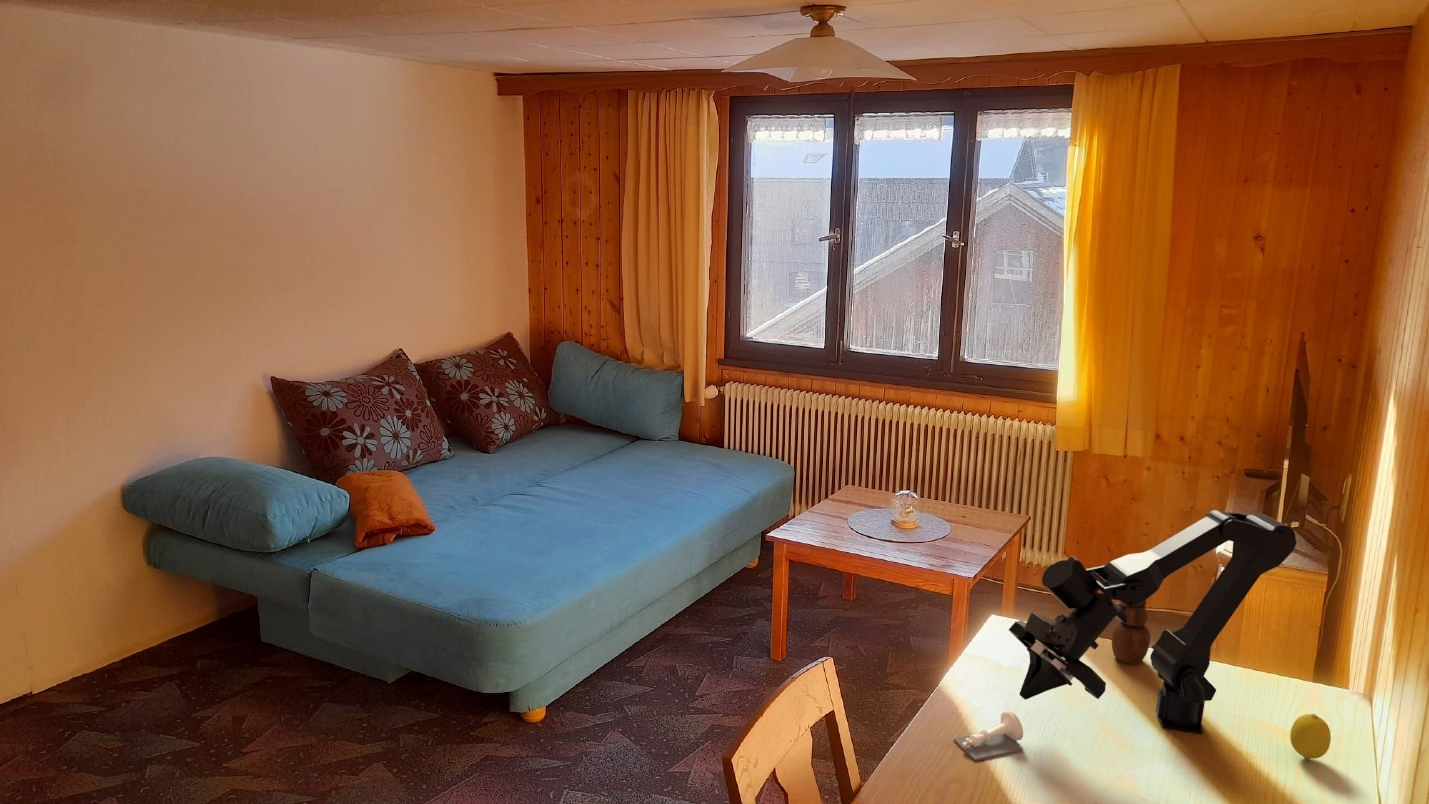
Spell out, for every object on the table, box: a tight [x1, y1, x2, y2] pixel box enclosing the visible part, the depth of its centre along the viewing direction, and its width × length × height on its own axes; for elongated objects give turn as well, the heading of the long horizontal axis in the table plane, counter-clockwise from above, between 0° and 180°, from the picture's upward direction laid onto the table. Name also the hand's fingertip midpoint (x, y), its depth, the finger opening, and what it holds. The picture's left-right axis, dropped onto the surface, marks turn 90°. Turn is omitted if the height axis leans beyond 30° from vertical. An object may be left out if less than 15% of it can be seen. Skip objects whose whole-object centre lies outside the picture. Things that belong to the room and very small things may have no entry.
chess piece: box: [962, 709, 1024, 748], centre depth 164 cm, size 5×5×10 cm
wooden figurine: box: [1110, 600, 1151, 665], centre depth 192 cm, size 7×6×15 cm
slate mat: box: [953, 732, 1023, 762], centre depth 164 cm, size 9×6×1 cm, turn 109°
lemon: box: [1289, 713, 1332, 761], centre depth 161 cm, size 6×6×8 cm
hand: (1022, 697), depth 164 cm, fingers closed
